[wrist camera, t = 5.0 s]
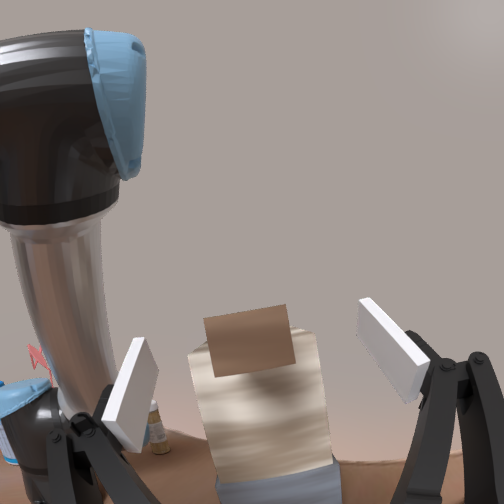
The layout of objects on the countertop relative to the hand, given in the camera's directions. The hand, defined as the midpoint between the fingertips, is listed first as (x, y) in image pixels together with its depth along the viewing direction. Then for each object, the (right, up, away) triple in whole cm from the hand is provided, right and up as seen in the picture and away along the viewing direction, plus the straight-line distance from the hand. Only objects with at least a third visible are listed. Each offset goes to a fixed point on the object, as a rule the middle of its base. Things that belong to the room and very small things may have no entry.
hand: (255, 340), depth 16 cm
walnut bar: (0, -4, +10) cm, 11 cm away
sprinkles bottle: (-21, -41, +33) cm, 57 cm away
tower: (+4, -32, +10) cm, 33 cm away
